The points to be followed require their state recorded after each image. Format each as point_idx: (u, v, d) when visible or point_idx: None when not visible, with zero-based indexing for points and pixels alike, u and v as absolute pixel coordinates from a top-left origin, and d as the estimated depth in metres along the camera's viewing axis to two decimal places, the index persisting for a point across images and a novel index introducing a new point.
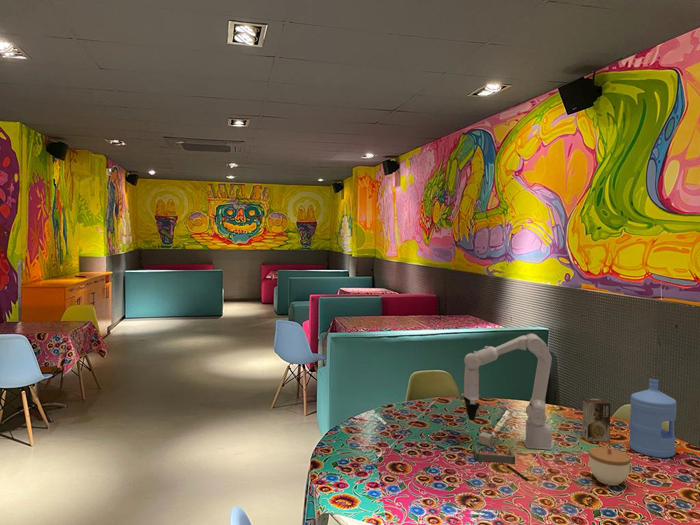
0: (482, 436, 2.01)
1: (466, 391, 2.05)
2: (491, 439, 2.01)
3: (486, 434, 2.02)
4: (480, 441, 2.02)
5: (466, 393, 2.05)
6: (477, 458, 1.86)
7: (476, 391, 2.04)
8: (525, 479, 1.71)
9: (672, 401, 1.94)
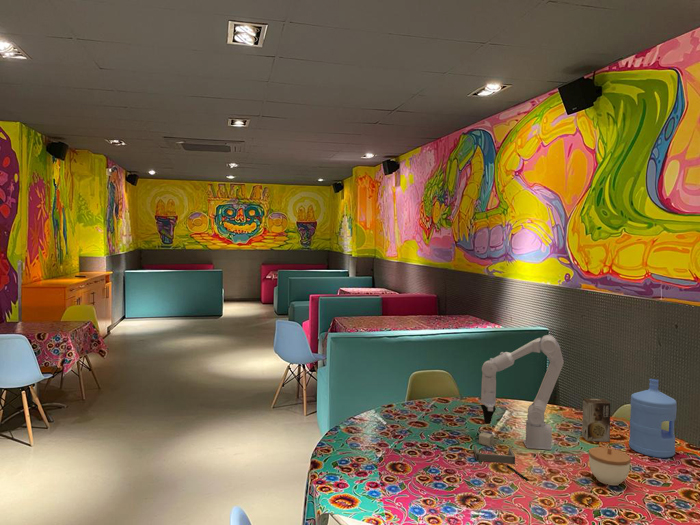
0: (482, 436, 2.01)
1: (483, 398, 2.07)
2: (491, 439, 2.01)
3: (486, 434, 2.02)
4: (480, 441, 2.02)
5: (483, 400, 2.07)
6: (477, 458, 1.86)
7: (493, 398, 2.06)
8: (525, 479, 1.70)
9: (672, 401, 1.94)
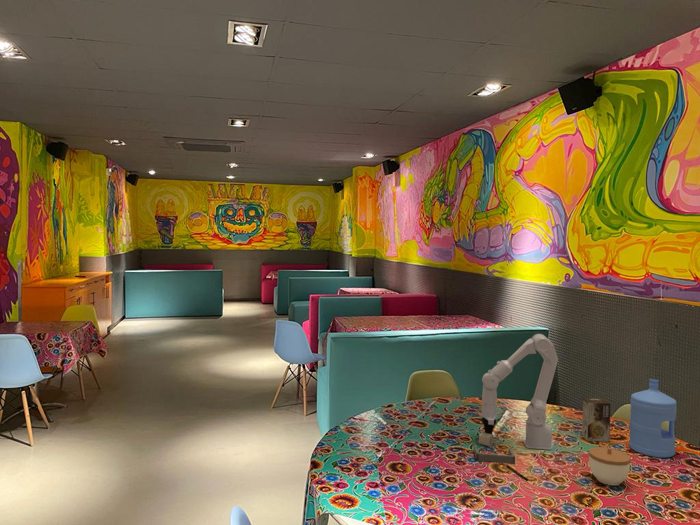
0: (482, 436, 2.01)
1: (484, 411, 2.04)
2: (491, 439, 2.01)
3: (486, 434, 2.02)
4: (480, 441, 2.02)
5: (484, 413, 2.04)
6: (477, 458, 1.86)
7: (494, 411, 2.03)
8: (525, 479, 1.70)
9: (672, 401, 1.94)
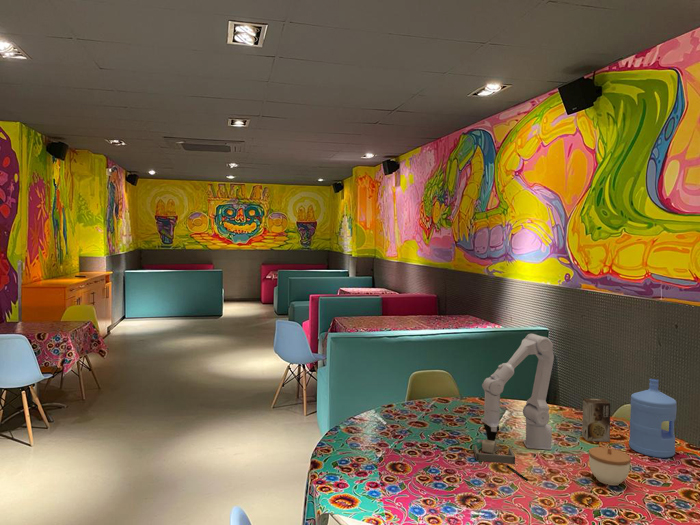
0: (485, 443, 1.93)
1: (486, 417, 1.96)
2: (494, 446, 1.93)
3: (489, 441, 1.94)
4: (483, 449, 1.94)
5: (486, 419, 1.96)
6: (477, 458, 1.86)
7: (496, 417, 1.95)
8: (524, 479, 1.70)
9: (672, 401, 1.94)
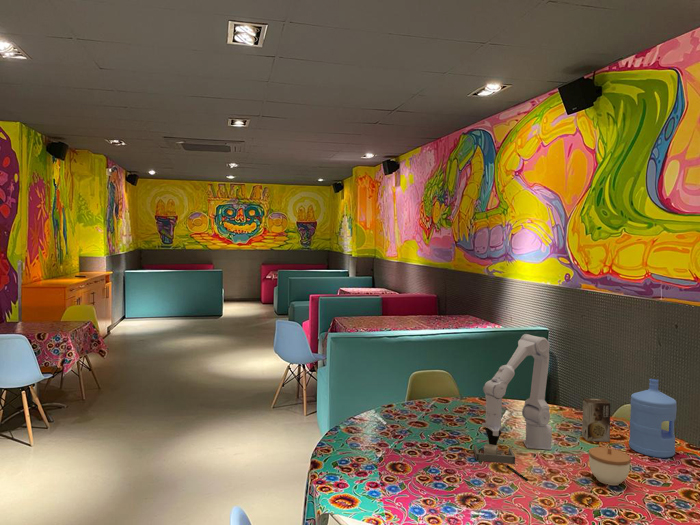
0: (487, 448, 1.89)
1: (488, 421, 1.91)
2: (496, 450, 1.89)
3: (491, 445, 1.90)
4: None
5: (488, 423, 1.91)
6: (477, 458, 1.86)
7: (498, 421, 1.90)
8: (524, 479, 1.70)
9: (672, 401, 1.94)
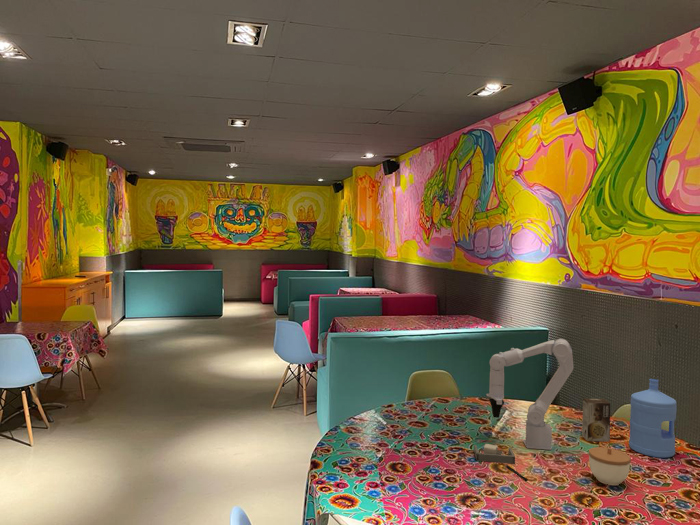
0: (487, 448, 1.89)
1: (492, 391, 2.06)
2: (496, 451, 1.89)
3: (490, 446, 1.90)
4: None
5: (492, 393, 2.06)
6: (477, 458, 1.86)
7: (501, 391, 2.05)
8: (524, 479, 1.70)
9: (672, 401, 1.94)
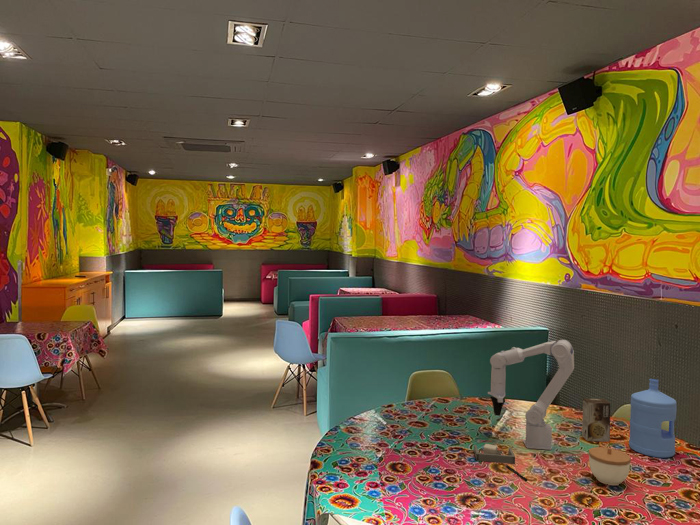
0: (487, 448, 1.89)
1: (493, 390, 2.08)
2: (496, 451, 1.89)
3: (490, 446, 1.90)
4: None
5: (493, 391, 2.08)
6: (477, 458, 1.86)
7: (502, 389, 2.07)
8: (524, 479, 1.70)
9: (672, 401, 1.94)
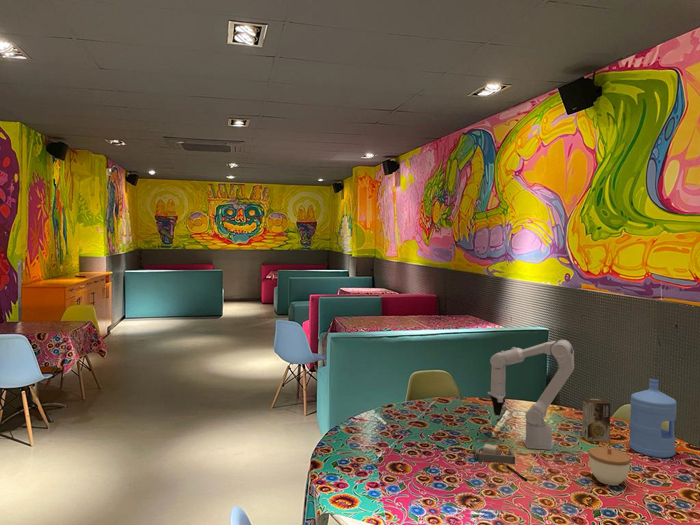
0: (487, 448, 1.89)
1: (493, 390, 2.08)
2: (496, 451, 1.89)
3: (490, 446, 1.90)
4: None
5: (493, 391, 2.08)
6: (477, 458, 1.86)
7: (502, 389, 2.07)
8: (524, 479, 1.70)
9: (672, 401, 1.94)
